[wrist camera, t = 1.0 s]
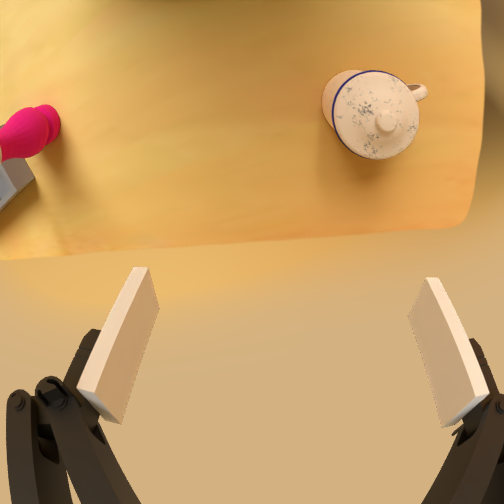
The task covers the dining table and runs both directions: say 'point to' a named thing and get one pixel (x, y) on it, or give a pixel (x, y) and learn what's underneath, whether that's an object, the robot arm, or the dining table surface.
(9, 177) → the rack
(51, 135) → the pepper mill
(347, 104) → the teacup with lid
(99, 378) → the robot arm
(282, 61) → the dining table surface
